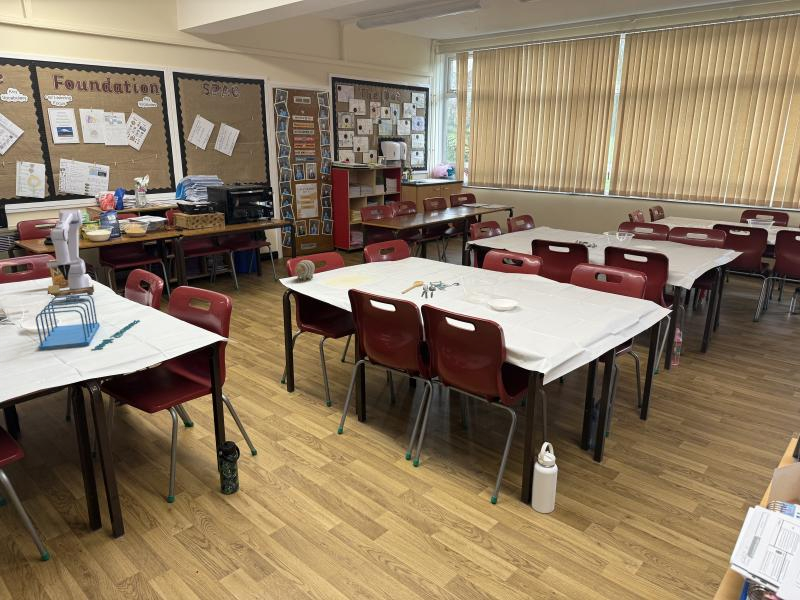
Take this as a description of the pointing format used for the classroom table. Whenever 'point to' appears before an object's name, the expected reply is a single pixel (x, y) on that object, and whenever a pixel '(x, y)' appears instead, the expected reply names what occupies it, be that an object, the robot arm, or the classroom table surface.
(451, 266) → the classroom table surface
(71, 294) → the pivot stand
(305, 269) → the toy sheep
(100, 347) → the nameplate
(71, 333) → the file sorter
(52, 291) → the brass weight
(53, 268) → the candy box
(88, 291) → the beam
